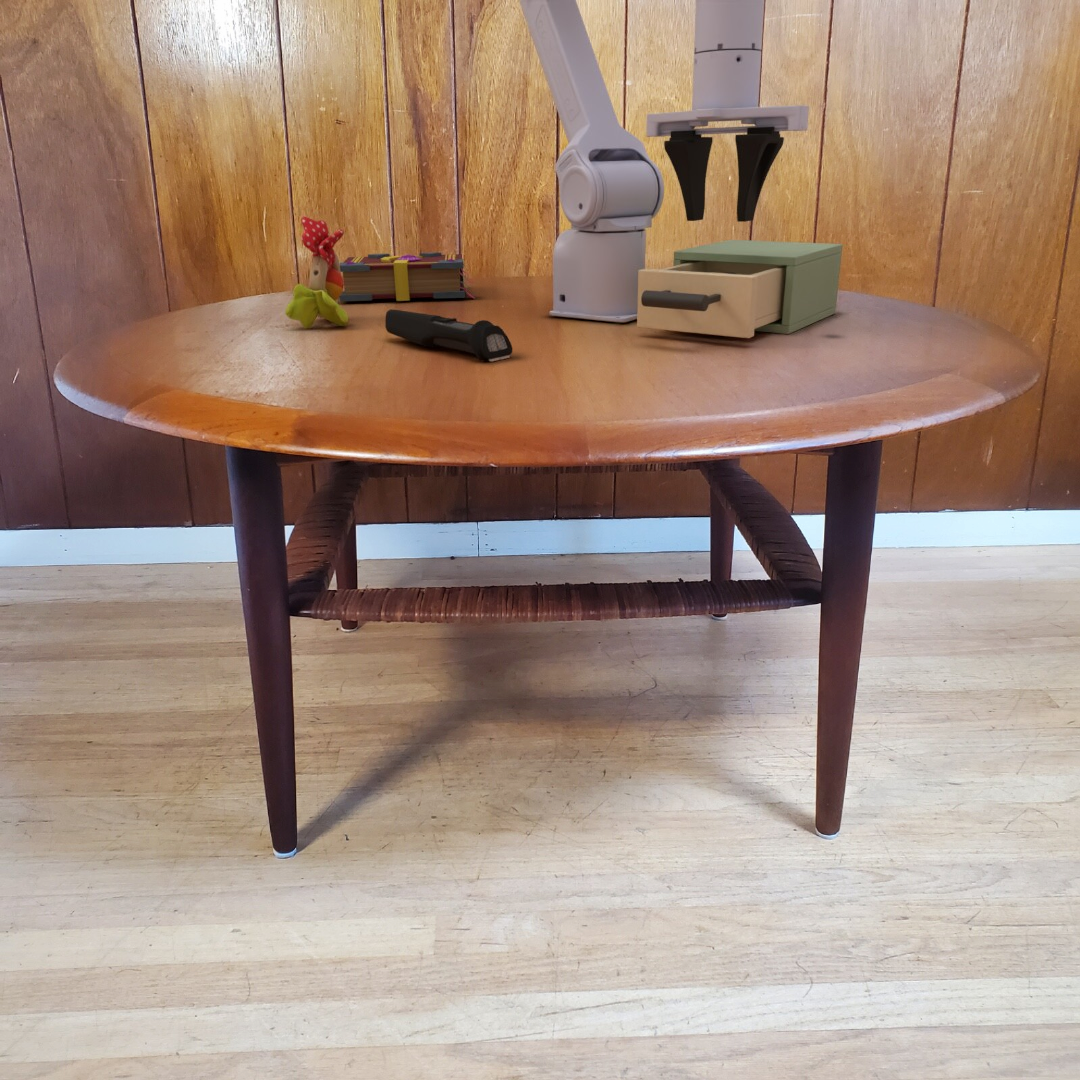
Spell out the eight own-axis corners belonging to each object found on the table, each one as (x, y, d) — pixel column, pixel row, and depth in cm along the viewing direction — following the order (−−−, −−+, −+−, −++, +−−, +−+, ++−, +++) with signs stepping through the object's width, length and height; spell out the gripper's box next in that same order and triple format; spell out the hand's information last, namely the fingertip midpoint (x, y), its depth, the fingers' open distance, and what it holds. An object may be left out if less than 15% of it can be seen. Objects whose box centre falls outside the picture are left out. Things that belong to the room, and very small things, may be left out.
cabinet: (788, 334, 88) (795, 257, 85) (670, 323, 95) (673, 251, 92) (835, 313, 98) (843, 244, 95) (726, 304, 105) (730, 239, 102)
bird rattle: (301, 340, 101) (279, 319, 92) (300, 239, 101) (278, 208, 92) (358, 339, 101) (342, 318, 92) (357, 238, 101) (340, 208, 92)
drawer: (729, 346, 79) (733, 282, 76) (614, 334, 85) (614, 275, 83) (799, 317, 91) (804, 262, 89) (694, 308, 97) (697, 256, 95)
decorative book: (350, 291, 121) (346, 251, 119) (473, 287, 122) (471, 248, 120) (340, 304, 110) (335, 261, 108) (474, 300, 111) (472, 257, 109)
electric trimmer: (408, 337, 91) (406, 304, 90) (516, 356, 81) (514, 319, 79) (377, 343, 89) (374, 309, 87) (484, 363, 78) (482, 326, 77)
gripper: (630, 57, 80) (628, 222, 85) (791, 42, 72) (779, 224, 77) (668, 62, 85) (664, 217, 90) (822, 48, 77) (808, 219, 82)
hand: (719, 220), depth 84 cm, fingers open, 4 cm apart
